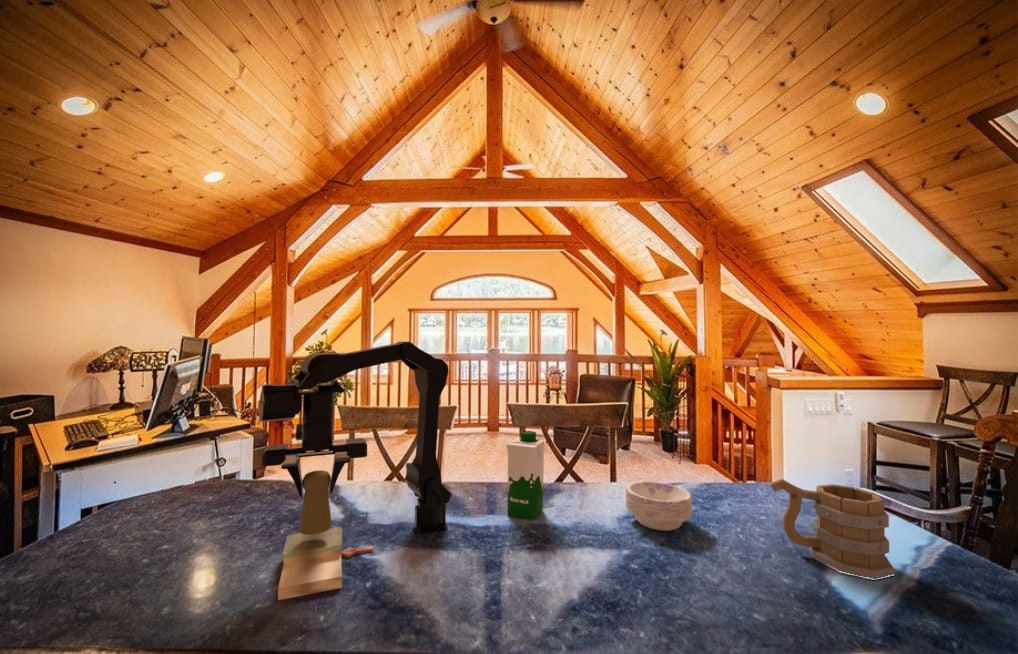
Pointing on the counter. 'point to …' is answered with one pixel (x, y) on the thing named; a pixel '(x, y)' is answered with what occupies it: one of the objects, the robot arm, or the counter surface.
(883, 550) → the tankard
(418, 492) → the robot arm
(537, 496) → the milk carton
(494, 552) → the counter surface
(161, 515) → the counter surface
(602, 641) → the counter surface
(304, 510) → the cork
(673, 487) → the paper bowls
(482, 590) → the counter surface
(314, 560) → the tan piece
